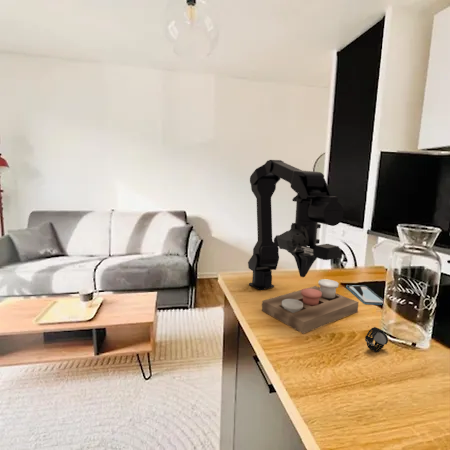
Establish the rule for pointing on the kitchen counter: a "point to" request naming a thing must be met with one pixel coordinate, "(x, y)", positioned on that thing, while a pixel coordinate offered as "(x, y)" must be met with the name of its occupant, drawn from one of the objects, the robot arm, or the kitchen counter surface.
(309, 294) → the red plug
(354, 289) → the smartphone
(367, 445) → the kitchen counter surface
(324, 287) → the grey plug far
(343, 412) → the kitchen counter surface
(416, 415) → the kitchen counter surface
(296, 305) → the grey plug near
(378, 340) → the smartwatch
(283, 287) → the kitchen counter surface
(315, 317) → the socket board
